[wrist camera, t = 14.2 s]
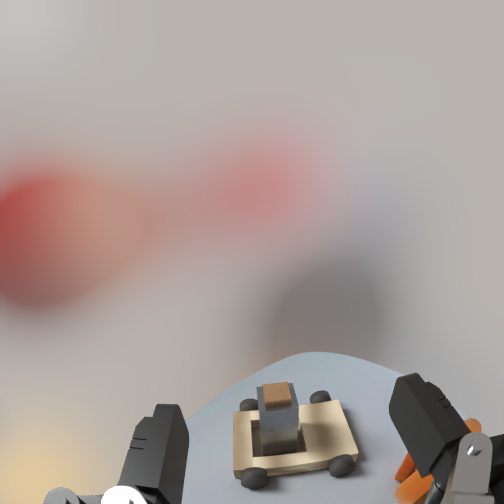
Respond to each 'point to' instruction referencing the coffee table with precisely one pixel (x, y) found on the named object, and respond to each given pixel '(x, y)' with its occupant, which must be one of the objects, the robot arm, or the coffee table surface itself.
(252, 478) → the chassis
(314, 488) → the coffee table surface
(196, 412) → the coffee table surface
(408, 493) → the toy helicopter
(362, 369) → the coffee table surface
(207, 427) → the coffee table surface
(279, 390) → the block
